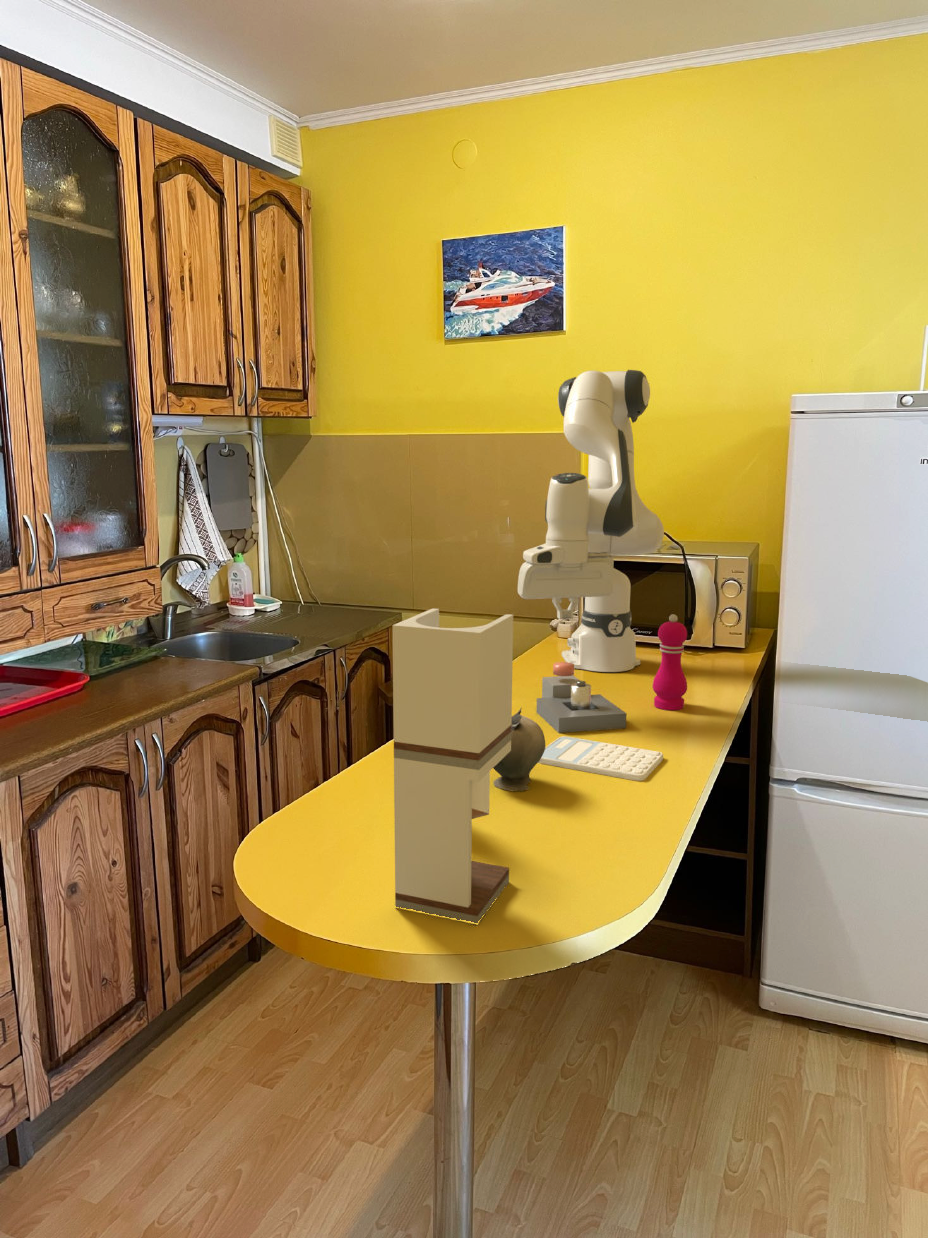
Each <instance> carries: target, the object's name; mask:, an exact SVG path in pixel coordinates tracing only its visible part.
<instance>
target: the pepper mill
mask: <svg viewBox="0 0 928 1238" xmlns="http://www.w3.org/2000/svg"><path fill="white" fill-rule="evenodd" d="M668 619H669V621H666V622H663V623H661V625H660V626H659V628H658V631H657V637H658V639H659V640H660V644H659V651H660V652H661V662H660V666H659V668H658V670H657V672H656V674H655V676H654V678H653V681H652V690H653V692H654V693H655V694H656V695H655V696H654V699H653V706H654V707H655V708H656V709H660V710H664V711H678V710H679V711H680V710H682V709H684V707H685V698H684V697H683V696H684V695H686V693H687V691H688V682H687V678H686V676H685V674H684V671H683V667H682V654H683V653H684V651H685V650H684V647H685V645H684V644H683V643H684V642H685V641H686V640H687V638H688V630H687V627H686V626H685V625H684V624H683V623H681V622H678V620H679V619H678V616H677V615H676V614H670V615H669V616H668Z"/></svg>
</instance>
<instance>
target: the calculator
mask: <svg viewBox="0 0 928 1238" xmlns="http://www.w3.org/2000/svg"><path fill="white" fill-rule="evenodd" d="M663 760H664V754H663V752H661V751H657V750H656V751H655V750H650V749H645V748H638V747H633V746H626V745H621V744H614V743H608V742H602V741H595V740H592V739H583V738H579V737H573V736H564V735H563V736H559V737H557V738H556V739H555V740H553V741H551V743H549V744H548V745H546V746H545V751H544V753H543V755H542V757H541V759H540V761H539V762H538V763H537V764H541V765H547V766H552V767H558V768H564V769H569V770H575V771H579V772H580V771H581V772H585V773H589V774H590V773H592V774H597V775H603V776H608V777H613V778H619V779H625V780H630V781H635V782H642V781H644V780H646V779H647V778H648V777H649V776H650V775H651V774H652V773H653V771H654V770H655V769H656V768H657V767H658V766H659V765H660V763H662V762H663Z"/></svg>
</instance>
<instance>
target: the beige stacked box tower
mask: <svg viewBox="0 0 928 1238" xmlns="http://www.w3.org/2000/svg"><path fill="white" fill-rule="evenodd" d="M513 639H514V614H510V613H509V614H507V613H506V614H504V615H502V616H501V617H499V618H497V619H495V620H493V621H491V622H489V623H487V624H484V625H479V626H472V627H440V609H439V608H431V609H427V610H426V611H424V612H421V613H419V614H416V615H413V616H411V617H409V618H407V619H406V618H405V619H404V620H402V621H399V622H398V623H397V622H396V623H395V624H393V625H392V690H393V691H392V692H393V693H392V699H393V701H392V703H393V705H392V707H393V708H392V709H393V712H392V714H393V716H392V717H393V779H394V780H393V786H394V787H393V797H394V798H393V803H394V806H393V807H394V809H393V810H394V811H393V812H394V813H393V814H394V815H393V816H394V887H395V888H394V892H395V894H394V895H395V897H394V899H395V901H394V903H395V904H394V906H396V907H399V908H400V907H401V908H406V909H413V910H416V911H422V912H425V913H429V914H436V915H439V916H445V917H449V918H456V919H457V920H460V919H461V920H466V921H471V922H474V923H478V921H479V920H480V919H481V918H482V916H483V915H484V914H485V913H486V912H487V910H488V909H489V908H490V906H491V905H492V903H493V902H494V901H495V899H496V898H497V897H498V896H499V897H500V895H501V894H502V893H501V892H503V891H504V890H505V889H504V887H505V888H506V887H507V886H508V885H509V883H510V867H507V866H503V865H497V864H491V863H486V862H480V861H474V860H472V836H473V835H472V824H473V823H472V822H473V821H472V820H475V819H478V818H481V817H484V816H485V817H486V816H489V815H490V785H491V784H490V783H491V782H490V781H491V780H490V778H491V776H490V773H491V771H492V769H494V768H493V767H494V766H495V765H497V764H498V763H499V762H500V761H501V760H502V759H503V758H504V757H505V756H506V755H507V754H508V753H509V752H510V751H511V722H512V716H513V714H512V713H513V712H512V711H513V710H512V709H513V704H512V703H513V658H514V657H513V653H514V652H513V651H514V649H513V648H514V647H513V646H514V645H513V644H514V640H513ZM506 885H507V886H506ZM503 889H504V890H503ZM502 890H503V891H502ZM500 893H501V894H500ZM499 894H500V895H499ZM499 897H498V898H499ZM498 898H497V899H498ZM497 899H496V900H497ZM495 902H496V901H495ZM495 902H494V903H495ZM492 906H493V905H492ZM492 906H491V907H492ZM490 909H491V908H490ZM490 909H489V910H490ZM489 910H488V911H489ZM487 913H488V912H487ZM487 913H486V914H487Z"/></svg>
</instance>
